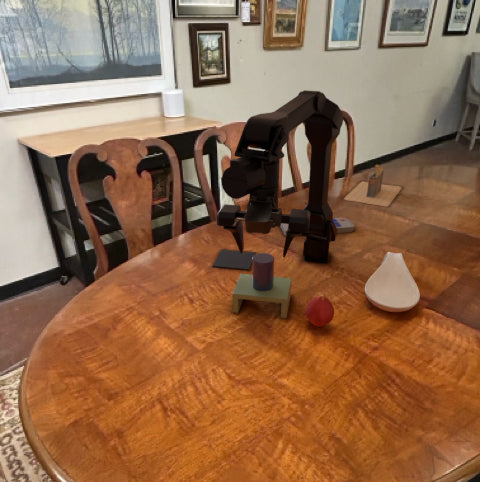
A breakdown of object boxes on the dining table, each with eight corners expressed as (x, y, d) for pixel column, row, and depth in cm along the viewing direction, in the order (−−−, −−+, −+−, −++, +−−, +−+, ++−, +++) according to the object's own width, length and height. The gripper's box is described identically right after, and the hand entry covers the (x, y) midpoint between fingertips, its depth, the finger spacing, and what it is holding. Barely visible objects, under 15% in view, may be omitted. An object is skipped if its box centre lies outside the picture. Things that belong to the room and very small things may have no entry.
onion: (302, 318, 91) (304, 287, 87) (328, 317, 92) (331, 286, 88) (308, 335, 86) (310, 303, 82) (335, 333, 87) (339, 301, 83)
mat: (255, 253, 119) (255, 252, 119) (249, 270, 110) (249, 269, 110) (221, 250, 121) (221, 249, 120) (212, 267, 112) (212, 265, 112)
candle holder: (274, 281, 95) (275, 253, 92) (271, 292, 91) (272, 264, 88) (254, 279, 96) (254, 252, 93) (250, 290, 92) (250, 262, 89)
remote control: (280, 226, 135) (280, 220, 134) (347, 222, 137) (348, 216, 136) (285, 236, 129) (285, 230, 127) (356, 232, 131) (356, 225, 129)
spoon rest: (418, 324, 89) (425, 295, 85) (361, 315, 92) (365, 287, 89) (413, 271, 109) (418, 246, 105) (366, 265, 112) (369, 241, 108)
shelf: (290, 296, 99) (291, 278, 97) (286, 318, 91) (287, 299, 89) (241, 291, 101) (240, 273, 99) (232, 312, 94) (232, 293, 91)
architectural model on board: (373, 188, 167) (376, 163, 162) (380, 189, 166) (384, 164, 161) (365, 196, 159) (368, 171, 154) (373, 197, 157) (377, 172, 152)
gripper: (207, 194, 77) (211, 268, 85) (309, 201, 74) (303, 277, 82) (222, 177, 87) (224, 245, 95) (312, 182, 83) (307, 252, 91)
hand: (262, 254), depth 90 cm, fingers open, 9 cm apart
